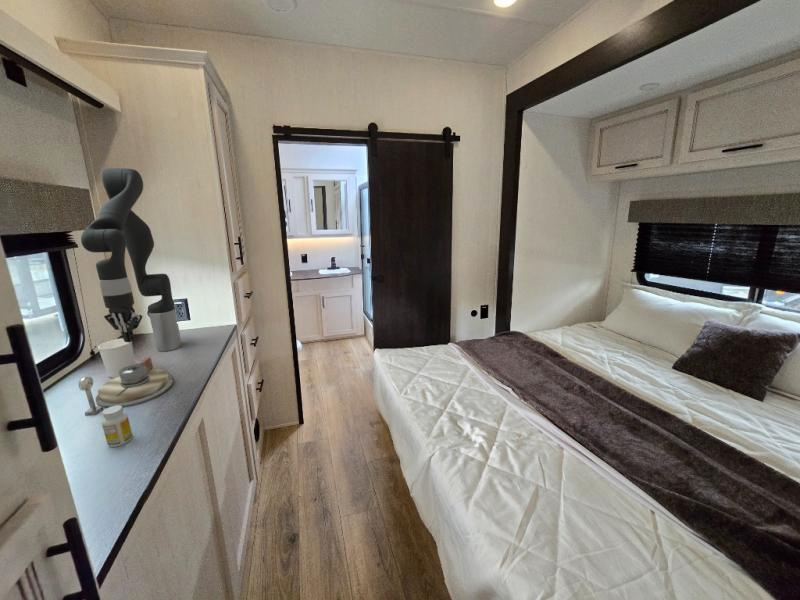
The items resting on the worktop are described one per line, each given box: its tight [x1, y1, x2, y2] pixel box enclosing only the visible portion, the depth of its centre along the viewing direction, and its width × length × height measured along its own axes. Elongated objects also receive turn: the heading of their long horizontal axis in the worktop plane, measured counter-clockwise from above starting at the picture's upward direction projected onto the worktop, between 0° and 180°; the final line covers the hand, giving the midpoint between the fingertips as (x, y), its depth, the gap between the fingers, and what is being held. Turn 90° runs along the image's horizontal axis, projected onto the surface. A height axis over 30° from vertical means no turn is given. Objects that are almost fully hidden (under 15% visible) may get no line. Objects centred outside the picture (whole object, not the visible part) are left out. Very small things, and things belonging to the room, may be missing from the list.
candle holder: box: [97, 338, 136, 379], centre depth 128 cm, size 10×10×12 cm
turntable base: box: [95, 374, 174, 409], centre depth 117 cm, size 21×21×1 cm
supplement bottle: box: [101, 405, 133, 448], centre depth 91 cm, size 5×5×10 cm
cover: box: [119, 363, 150, 388], centre depth 115 cm, size 8×8×5 cm
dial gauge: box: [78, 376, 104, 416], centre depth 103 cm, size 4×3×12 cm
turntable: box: [97, 356, 169, 403], centre depth 116 cm, size 20×19×6 cm
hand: (129, 341), depth 115 cm, fingers closed
